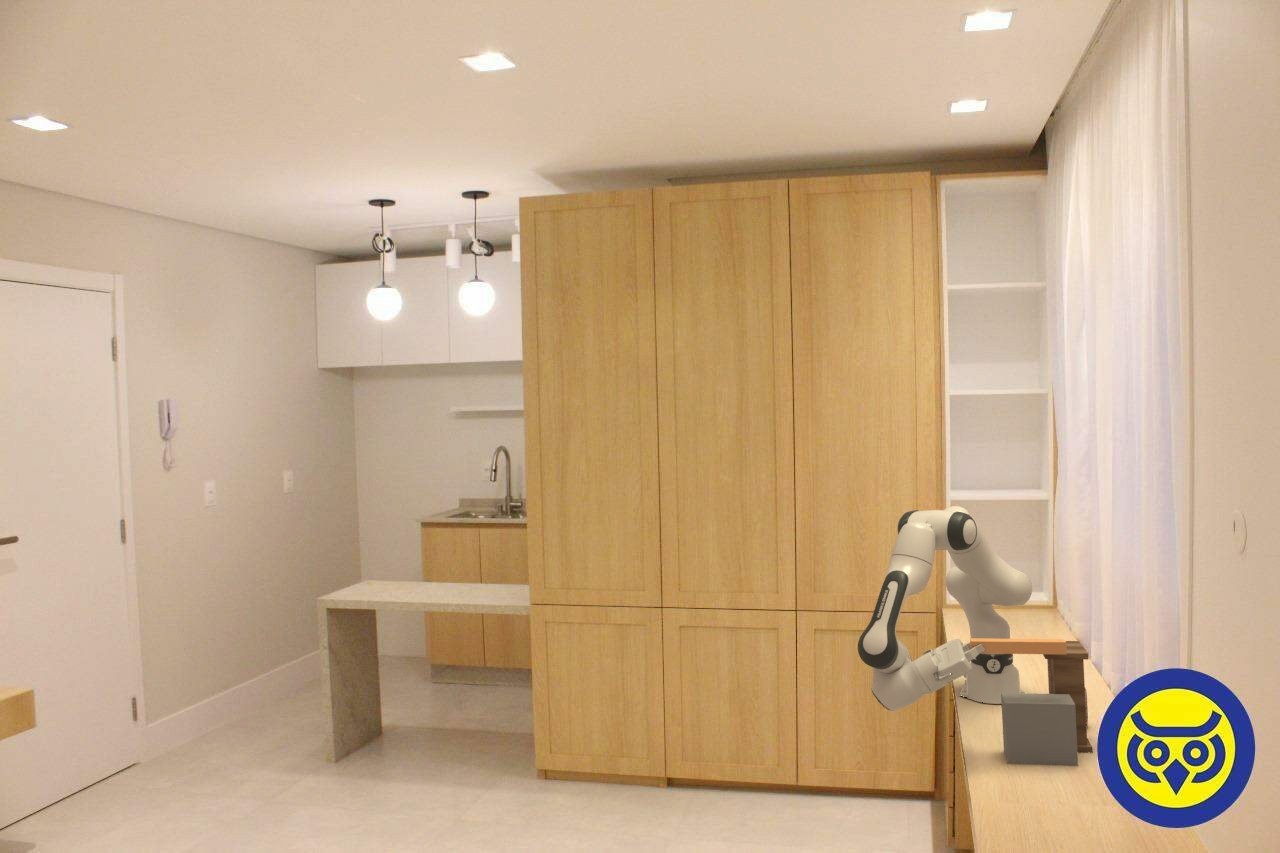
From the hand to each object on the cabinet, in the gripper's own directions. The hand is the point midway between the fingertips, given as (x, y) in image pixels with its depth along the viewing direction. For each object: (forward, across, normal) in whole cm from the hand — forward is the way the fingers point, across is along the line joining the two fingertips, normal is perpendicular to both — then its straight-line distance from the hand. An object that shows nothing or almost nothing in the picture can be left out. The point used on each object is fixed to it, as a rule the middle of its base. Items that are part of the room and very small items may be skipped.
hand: (982, 644), depth 242 cm
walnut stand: (+3, +11, +35) cm, 37 cm away
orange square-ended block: (+6, 0, +6) cm, 8 cm away
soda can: (+7, +24, +37) cm, 45 cm away
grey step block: (-4, 0, +31) cm, 31 cm away
